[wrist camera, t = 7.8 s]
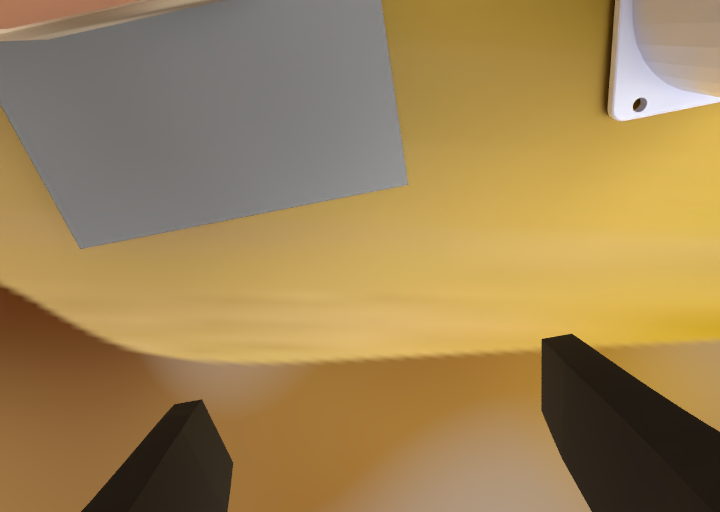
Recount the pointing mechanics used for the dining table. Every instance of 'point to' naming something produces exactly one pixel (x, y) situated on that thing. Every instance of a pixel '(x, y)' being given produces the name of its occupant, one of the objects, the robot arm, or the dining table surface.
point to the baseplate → (207, 114)
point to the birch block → (97, 19)
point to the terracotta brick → (47, 10)
